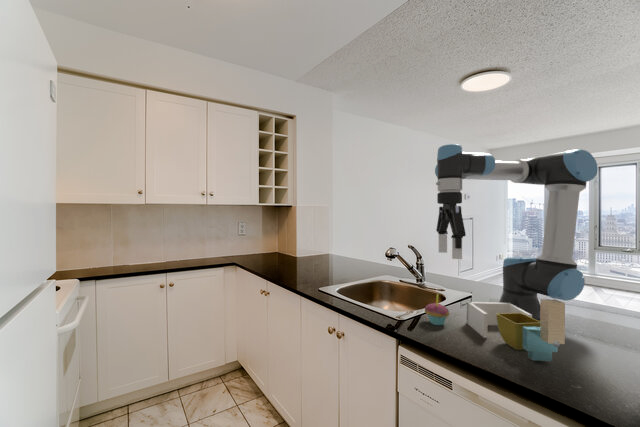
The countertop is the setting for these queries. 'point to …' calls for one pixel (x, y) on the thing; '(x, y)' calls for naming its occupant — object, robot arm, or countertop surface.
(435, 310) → the cupcake
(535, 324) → the flower pot
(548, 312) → the rod
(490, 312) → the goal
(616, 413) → the countertop surface
